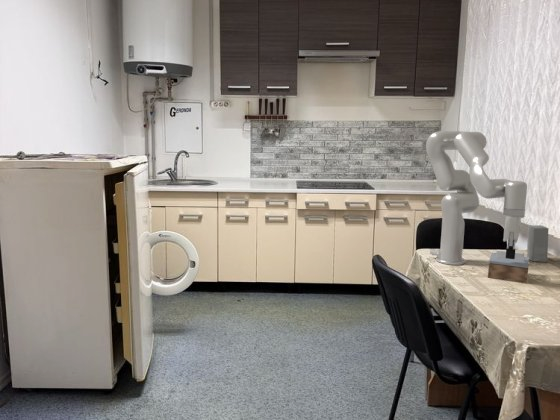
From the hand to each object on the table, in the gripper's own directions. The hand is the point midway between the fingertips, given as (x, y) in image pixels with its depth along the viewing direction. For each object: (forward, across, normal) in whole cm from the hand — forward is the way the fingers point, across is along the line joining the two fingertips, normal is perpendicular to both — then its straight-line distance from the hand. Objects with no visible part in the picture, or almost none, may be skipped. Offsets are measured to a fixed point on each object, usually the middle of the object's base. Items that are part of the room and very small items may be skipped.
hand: (510, 258), depth 179 cm
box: (+9, -6, 0) cm, 11 cm away
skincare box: (+9, -40, +10) cm, 42 cm away
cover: (+3, -6, 0) cm, 7 cm away
